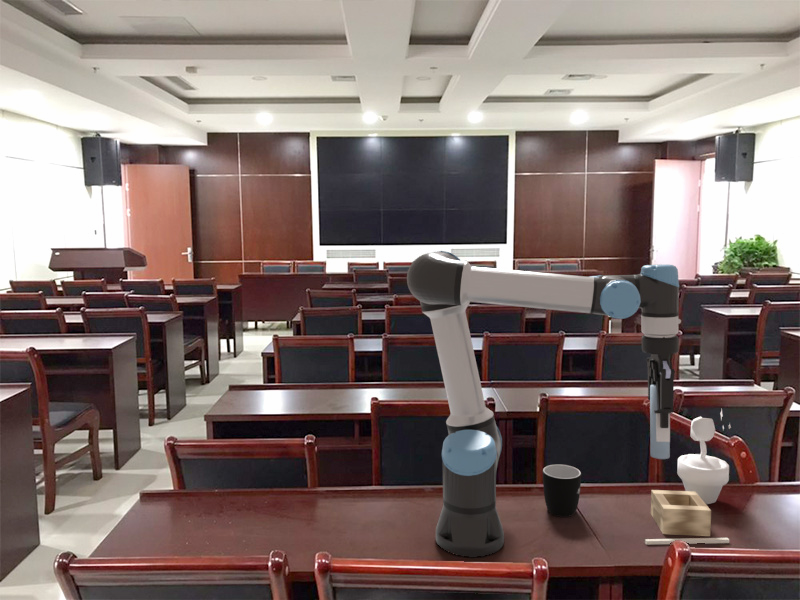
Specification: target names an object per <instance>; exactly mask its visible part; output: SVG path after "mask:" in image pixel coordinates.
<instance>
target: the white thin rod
mask: <svg viewBox="0 0 800 600" xmlns="http://www.w3.org/2000/svg"><path fill="white" fill-rule="evenodd" d="M675 540H682V541H685V542H687V543H689V544H690V545H695V544H697V543H705V544H730V538H728V537H700V538H699V537H698V538H697V537H696V538H694V537H693V538H689V537H688V538H652V539H651V538H646V539H645V538H644V543H645V545H650V546H651V545H671V544H670V543H671V542H673V541H675ZM689 544H688V545H689Z"/></svg>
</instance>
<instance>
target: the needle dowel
mask: <svg viewBox="0 0 800 600" xmlns="http://www.w3.org/2000/svg"><path fill="white" fill-rule="evenodd" d="M649 406H650V407H649V414H650V415H649V416H650V417H649V421H650V423H649V424H650V426H649V428H650V429H649V431H650V432H649V437H650V443H649V444H650V445H649V446H650V447H649V448H650V457H651V458H653V459H657V460H666V459H667V460H668V459H670V457H671V455H670V454H671V448H670V447H671V446H670V445H671V441H670V442H657V441H656V413H654V410H657V409H658V407H657V389H656V384H653V385H650V400H649Z"/></svg>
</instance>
